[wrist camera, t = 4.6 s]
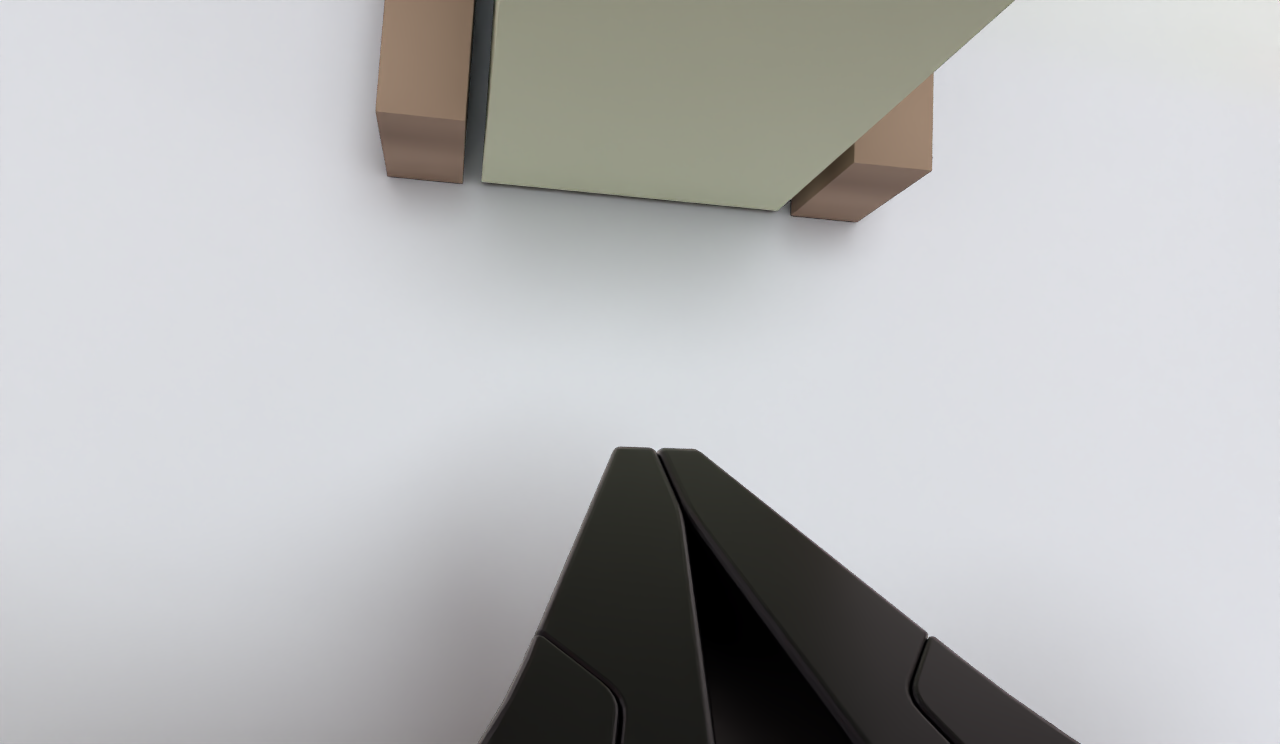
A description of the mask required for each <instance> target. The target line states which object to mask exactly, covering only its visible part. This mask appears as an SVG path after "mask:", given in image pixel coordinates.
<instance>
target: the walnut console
mask: <svg viewBox="0 0 1280 744" xmlns="http://www.w3.org/2000/svg"><path fill="white" fill-rule="evenodd" d="M475 4H476V0H385V4H384V15H383V27H382V39H381V51H380V63H379V75H378V87H377V99H376V117H377V122H378V127H379V133H380V138H381V143H382V149H383V154H384V160H385V165H386V170H387V176H390V177H400V178H411V179H421V180H431V181H441V182H452V183H463V169H464V156H465V142H466V128H467V114H468V100H469V87H470V73H471V59H472V45H473V31H474V18H475ZM932 131H933V73H932V74H931V75H930V76H929V77H928V78H927V79H926V80H924V81H923V82H922V83H921V84H920V85H919V86H918V87H917V88H915V89H914V90H913V91H912V92H911V93H910V94H909V95H908V96H906V97H905V98H904V99H903V100H902V101H901V102H900V103H899V104H897V105H896V106H895V107H894V108H893V109H892V110H891V111H890V112H888V113H887V114H886V115H885V116H884V117H883V118H882V119H881V120H879V121H878V122H877V123H876V124H875V125H874V126H873V127H872V128H870V129H869V130H868V131H867V132H866V133H865V134H864V135H863V136H861V137H860V138H859V139H858V140H857V141H856V142H855V143H854V144H852V145H851V146H850V147H849V148H848V149H847V150H846V151H845V152H843V153H842V154H841V155H840V156H839V157H838V158H837V159H836V160H834V161H833V162H832V163H831V164H830V165H829V166H828V167H827V168H825V169H824V170H823V171H822V172H821V173H820V174H819V175H818V176H816V177H815V178H814V179H813V180H812V181H811V182H810V183H809V184H807V185H806V186H805V187H804V188H803V189H802V190H801V191H799V192H798V193H797V194H796V195H795V196H794V197H793V198H792V200H791V216H800V217H811V218H821V219H831V220H841V221H852V222H858V221H860V220H861V219H862V218H864V217H865V216H867V215H868V214H870V213H871V212H873V211H874V210H876V209H877V208H878V207H880V206H881V205H883V204H884V203H886V202H887V201H889V200H890V199H892V198H893V197H894V196H896V195H897V194H899V193H900V192H902V191H903V190H905V189H906V188H908V187H909V186H910V185H912V184H913V183H915V182H916V181H918V180H919V179H921V178H922V177H924V176H925V175H926V174H928V173H929V172H931V171H932Z"/></svg>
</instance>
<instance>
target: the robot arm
mask: <svg viewBox="0 0 1280 744" xmlns="http://www.w3.org/2000/svg"><path fill="white" fill-rule="evenodd" d="M927 638H928V634H927V632H926V631H925V630H923V629H922V628H921V627H920V626H918V625H917V624H916V623H915V622H913V621H912V620H911V619H910V618H908V617H907V616H906V615H905V614H903V613H902V612H901V611H900V610H898V609H897V608H896V607H895V606H893V605H892V604H891V603H890V602H888V601H887V600H886V599H885V598H883V597H882V596H881V595H880V594H878V593H877V592H876V591H874V590H873V589H872V588H871V587H869V586H868V585H867V584H866V583H864V582H863V581H862V580H861V579H859V578H858V577H857V576H856V575H854V574H853V573H852V572H851V571H849V570H848V569H847V568H846V567H844V566H843V565H842V564H841V563H839V562H838V561H837V560H836V559H834V558H833V557H832V556H831V555H829V554H828V553H827V552H826V551H824V550H823V549H822V548H821V547H819V546H818V545H817V544H815V543H814V542H813V541H812V540H810V539H809V538H808V537H807V536H805V535H804V534H803V533H802V532H800V531H799V530H798V529H797V528H795V527H794V526H793V525H792V524H790V523H789V522H788V521H787V520H785V519H784V518H783V517H782V516H780V515H779V514H778V513H777V512H775V511H774V510H773V509H772V508H770V507H769V506H768V505H767V504H765V503H764V502H763V501H762V500H760V499H759V498H758V497H756V496H755V495H754V494H753V493H751V492H750V491H749V490H748V489H746V488H745V487H744V486H743V485H741V484H740V483H739V482H738V481H736V480H735V479H734V478H733V477H731V476H730V475H729V474H728V473H726V472H725V471H724V470H723V469H721V468H720V467H719V466H718V465H716V464H715V463H714V462H713V461H711V460H710V459H709V458H708V457H706V456H705V455H704V454H703V453H701V452H699V451H698V450H696V449H679V448H662V449H660V450H658V452H657V453H656V451H655V450H654V449H652V448H647V447H617V448H615V449H614V450H613V452H612V454H611V457H610V459H609V461H608V464H607V466H606V469H605V471H604V473H603V476H602V478H601V480H600V483H599V485H598V487H597V490H596V492H595V494H594V497H593V499H592V501H591V504H590V506H589V509H588V511H587V513H586V516H585V518H584V520H583V523H582V525H581V527H580V530H579V532H578V534H577V537H576V539H575V541H574V544H573V546H572V549H571V551H570V553H569V556H568V558H567V560H566V563H565V565H564V567H563V570H562V572H561V574H560V577H559V579H558V581H557V584H556V586H555V588H554V591H553V593H552V596H551V598H550V600H549V603H548V605H547V607H546V610H545V612H544V614H543V617H542V619H541V621H540V624H539V626H538V628H537V631H536V633H535V636H534V637H533V638H532V640H531V643H530V645H529V647H528V650H527V652H526V654H525V657H524V659H523V661H522V664H521V666H520V668H519V670H518V672H517V674H516V676H515V678H514V680H513V682H512V684H511V686H510V688H509V690H508V692H507V694H506V696H505V698H504V701H503V702H502V704H501V706H500V707H499V709H498V711H497V712H496V714H495V716H494V717H493V719H492V721H491V722H490V724H489V726H488V727H487V729H486V731H485V732H484V734H483V736H482V737H481V739H480V741H479V742H478V744H1080V743H1079V742H1077V741H1076V740H1074V739H1073V738H1071V737H1070V736H1068V735H1067V734H1065V733H1064V732H1062V731H1061V730H1059V729H1058V728H1057V727H1055V726H1054V725H1052V724H1051V723H1049V722H1048V721H1047V720H1045V719H1044V718H1042V717H1041V716H1039V715H1038V714H1037V713H1035V712H1034V711H1032V710H1031V709H1029V708H1028V707H1027V706H1025V705H1024V704H1022V703H1021V702H1019V701H1018V700H1017V699H1015V698H1014V697H1012V696H1011V695H1009V694H1008V693H1007V692H1005V691H1004V690H1003V689H1002V688H1000V687H999V686H998V685H996V684H995V683H994V682H992V681H991V680H990V679H988V678H987V677H986V676H984V675H983V674H982V673H980V672H979V671H978V670H976V669H975V668H974V667H973V666H971V665H970V664H969V663H967V662H966V661H965V660H963V659H962V658H961V657H960V656H958V655H957V654H956V653H954V652H953V651H952V650H951V649H949V648H948V647H947V646H946V645H944V644H943V643H942V642H941V641H939V640H938V639H937V638H936V637H933V636H931V637H929V638H928V639H927Z"/></svg>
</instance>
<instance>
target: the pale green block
mask: <svg viewBox="0 0 1280 744" xmlns="http://www.w3.org/2000/svg"><path fill="white" fill-rule="evenodd" d="M1013 1H1015V0H494V8H493V22H492V36H491V51H490V65H489V79H488V93H487V107H486V122H485V136H484V150H483V164H482V179H481V182H488V183H498V184H508V185H518V186H529V187H539V188H549V189H559V190H569V191H580V192H590V193H600V194H610V195H620V196H631V197H641V198H651V199H661V200H671V201H682V202H692V203H702V204H712V205H722V206H733V207H743V208H753V209H763V210H773V211H778V210H779V209H780V208H781V207H783V206H784V205H785V204H786V203H787V202H788V201H789V200H790V199H792V198H793V197H794V196H795V195H796V194H797V193H798V192H799V191H801V190H802V189H803V188H804V187H805V186H806V185H807V184H809V183H810V182H811V181H812V180H813V179H814V178H815V177H816V176H818V175H819V174H820V173H821V172H822V171H823V170H824V169H825V168H827V167H828V166H829V165H830V164H831V163H832V162H833V161H834V160H836V159H837V158H838V157H839V156H840V155H841V154H842V153H843V152H845V151H846V150H847V149H848V148H849V147H850V146H851V145H852V144H854V143H855V142H856V141H857V140H858V139H859V138H860V137H861V136H863V135H864V134H865V133H866V132H867V131H868V130H869V129H870V128H872V127H873V126H874V125H875V124H876V123H877V122H878V121H879V120H881V119H882V118H883V117H884V116H885V115H886V114H887V113H888V112H890V111H891V110H892V109H893V108H894V107H895V106H896V105H897V104H899V103H900V102H901V101H902V100H903V99H904V98H905V97H906V96H908V95H909V94H910V93H911V92H912V91H913V90H914V89H915V88H917V87H918V86H919V85H920V84H921V83H922V82H923V81H924V80H926V79H927V78H928V77H929V76H930V75H931V74H932V73H934V72H935V71H936V70H937V69H938V68H939V67H940V66H941V65H943V64H944V63H945V62H946V61H947V60H948V59H949V58H950V57H952V56H953V55H954V54H955V53H956V52H957V51H958V50H959V49H961V48H962V47H963V46H964V45H965V44H966V43H967V42H968V41H970V40H971V39H972V38H973V37H974V36H975V35H976V34H977V33H979V32H980V31H981V30H982V29H983V28H984V27H985V26H986V25H988V24H989V23H990V22H991V21H992V20H993V19H994V18H995V17H997V16H998V15H999V14H1000V13H1001V12H1002V11H1003V10H1004V9H1006V8H1007V7H1008V6H1009V5H1010V4H1011V3H1012V2H1013Z"/></svg>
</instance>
